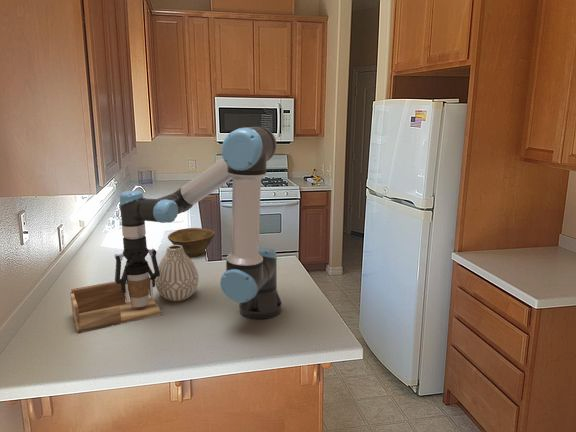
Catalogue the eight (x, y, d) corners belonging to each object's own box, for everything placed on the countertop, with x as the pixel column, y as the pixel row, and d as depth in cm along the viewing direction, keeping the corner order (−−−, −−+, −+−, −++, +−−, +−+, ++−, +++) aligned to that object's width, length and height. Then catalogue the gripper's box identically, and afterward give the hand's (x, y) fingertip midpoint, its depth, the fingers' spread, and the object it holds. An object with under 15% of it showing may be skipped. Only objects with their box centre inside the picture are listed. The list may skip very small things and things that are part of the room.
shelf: (161, 314, 162) (159, 287, 160) (77, 333, 149) (74, 304, 147) (151, 300, 174) (149, 275, 171) (72, 316, 161) (69, 289, 158)
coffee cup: (156, 303, 165) (153, 263, 161) (135, 311, 159) (131, 269, 155) (144, 297, 170) (140, 258, 167) (122, 304, 164) (119, 264, 161)
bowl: (160, 252, 228) (159, 233, 226) (201, 243, 243) (200, 225, 241) (182, 264, 212) (181, 243, 210) (224, 253, 227) (223, 234, 225)
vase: (154, 307, 168) (150, 254, 163) (157, 290, 183) (154, 241, 178) (199, 303, 171) (197, 252, 166) (199, 287, 186) (196, 239, 181)
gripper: (161, 229, 167) (165, 289, 172) (100, 237, 157) (107, 300, 162) (167, 234, 160) (171, 296, 166) (104, 243, 151) (110, 308, 156)
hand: (139, 298), depth 164 cm, fingers closed on coffee cup, 7 cm apart
